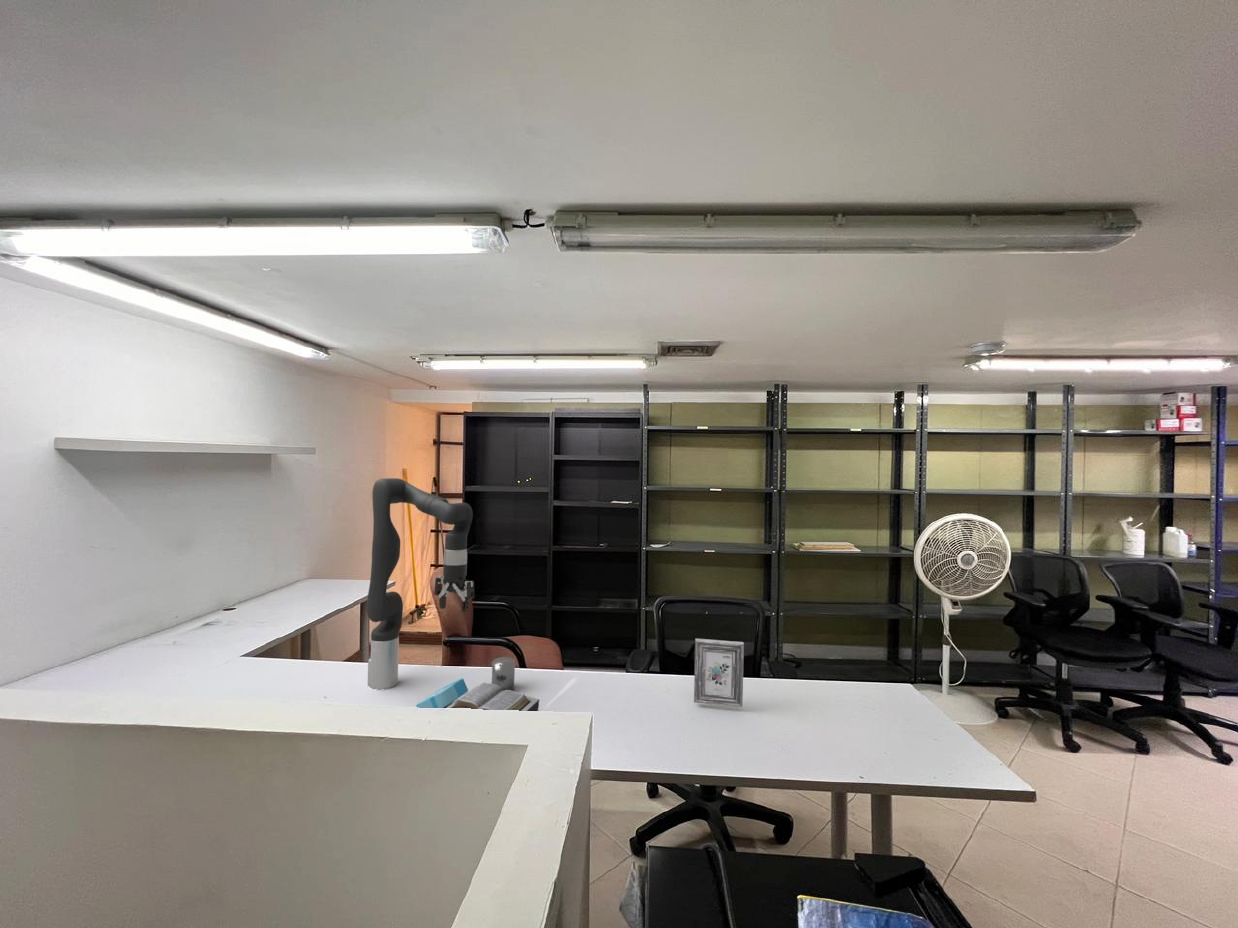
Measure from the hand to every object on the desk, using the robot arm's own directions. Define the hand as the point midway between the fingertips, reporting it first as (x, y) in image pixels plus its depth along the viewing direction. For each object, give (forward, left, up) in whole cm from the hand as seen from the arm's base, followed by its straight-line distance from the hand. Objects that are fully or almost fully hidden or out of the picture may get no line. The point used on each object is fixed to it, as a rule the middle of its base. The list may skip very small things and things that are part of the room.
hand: (453, 609), depth 165 cm
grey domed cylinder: (+10, +16, -32) cm, 37 cm away
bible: (+20, -7, -32) cm, 38 cm away
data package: (+6, -6, -24) cm, 25 cm away
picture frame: (+86, +31, -32) cm, 97 cm away
